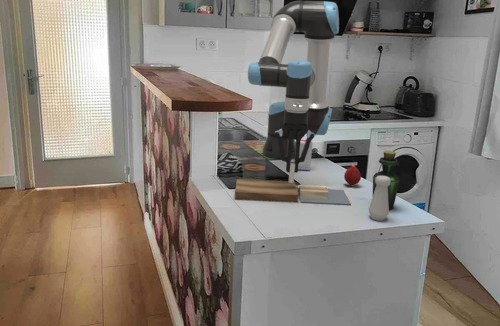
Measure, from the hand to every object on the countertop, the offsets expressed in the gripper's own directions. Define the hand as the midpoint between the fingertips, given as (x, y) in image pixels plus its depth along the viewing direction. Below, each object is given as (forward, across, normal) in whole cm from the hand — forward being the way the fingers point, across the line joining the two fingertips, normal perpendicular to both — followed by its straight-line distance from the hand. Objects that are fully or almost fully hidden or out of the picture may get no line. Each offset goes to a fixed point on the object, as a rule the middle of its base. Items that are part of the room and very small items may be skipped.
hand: (291, 181), depth 154 cm
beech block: (+4, +8, -1) cm, 9 cm away
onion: (+5, +23, +13) cm, 27 cm away
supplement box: (+5, +7, +32) cm, 33 cm away
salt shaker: (+5, +25, -17) cm, 31 cm away
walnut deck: (+5, -8, 0) cm, 9 cm away
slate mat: (+5, +11, 0) cm, 12 cm away
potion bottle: (+5, +29, -7) cm, 30 cm away
